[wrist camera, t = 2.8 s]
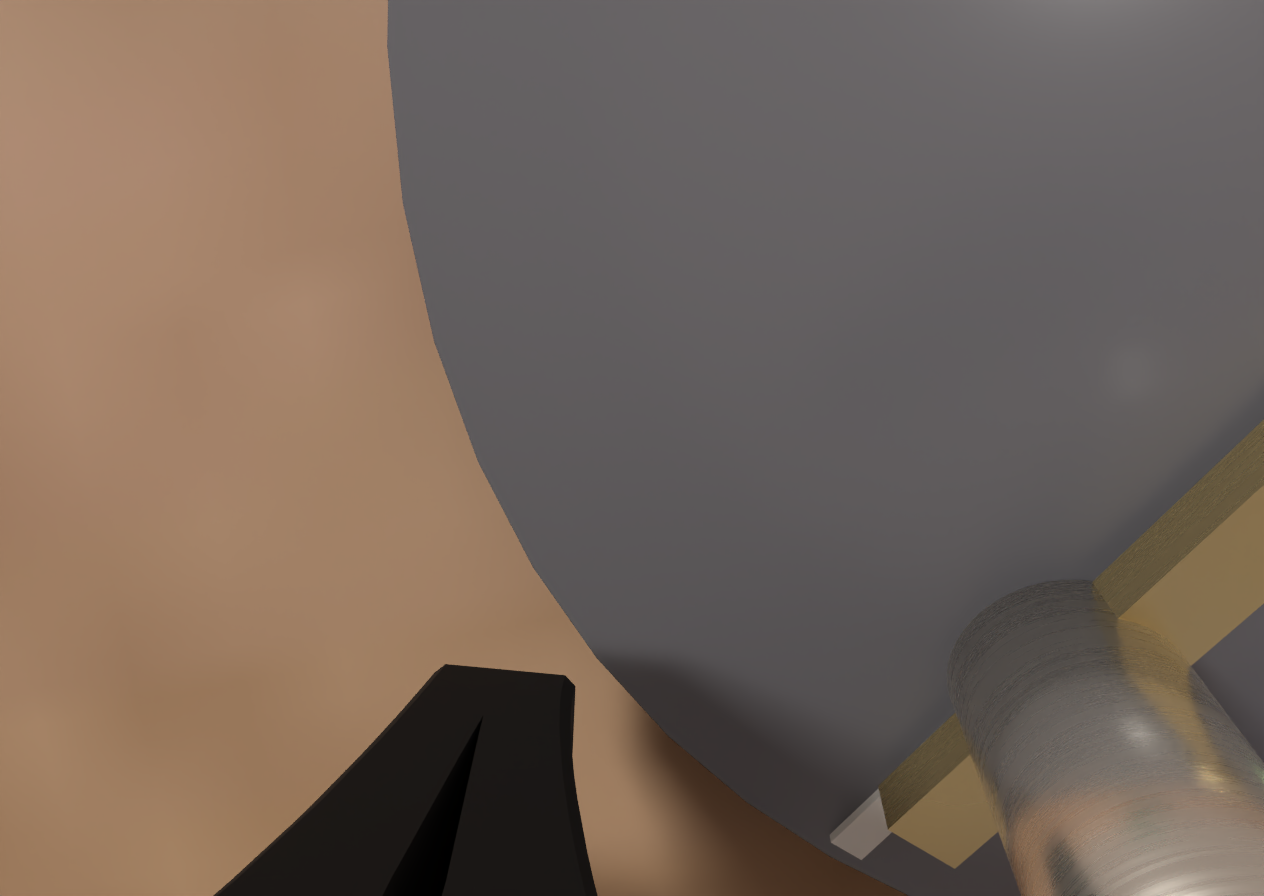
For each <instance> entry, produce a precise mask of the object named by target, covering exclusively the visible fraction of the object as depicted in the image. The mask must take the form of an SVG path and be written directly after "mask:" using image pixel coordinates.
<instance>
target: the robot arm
mask: <svg viewBox="0 0 1264 896" xmlns="http://www.w3.org/2000/svg"><path fill="white" fill-rule="evenodd" d="M574 705H575V685H574V684H573V683H572V682H571V681H570V680H569V679H568V678H567V677H566V676H565V675H555V674H544V673H534V672H523V671H512V670H502V669H491V668H480V667H469V666H459V665H448V664H445V665H444V666H443V667H441V668H440V669H439V670H438V671H436V672H435V673H434V674H433V675H432V676H431V678H430V679H429V680H428V681H427V682H426V683H425V685H424V686H423V687H422V688H421V689H420V690H419V692H418V693H417V694H416V695H415V696H414V697H413V698H412V700H411V701H410V702H409V703H408V704H407V705H406V706H405V708H404V709H403V710H402V711H401V712H400V713H399V714H398V715H397V717H396V718H395V719H394V720H393V721H392V722H391V723H390V724H389V725H388V727H387V728H386V729H385V730H384V731H383V732H382V733H381V734H380V735H379V736H378V737H377V738H376V739H375V741H374V742H373V743H372V744H371V745H370V746H369V747H368V748H367V749H366V750H365V751H364V752H363V753H362V755H361V756H360V757H359V758H358V759H357V760H356V761H355V762H354V763H353V764H352V765H351V766H350V767H349V768H348V769H347V770H346V771H345V772H344V773H343V774H342V775H341V776H340V777H339V778H338V779H337V780H336V781H335V782H334V783H333V784H332V785H331V786H330V787H329V788H328V789H327V790H326V791H325V792H324V793H323V794H322V795H321V796H320V797H319V798H318V799H317V800H316V801H315V802H314V804H313V805H312V806H310V807H309V808H308V809H307V810H306V811H305V812H304V813H303V814H302V815H301V816H300V817H299V818H298V819H297V820H296V821H295V822H294V823H293V824H292V825H291V826H290V827H288V828H287V829H286V830H285V831H284V832H283V833H282V834H281V835H280V836H279V837H278V838H277V839H275V840H274V841H273V842H272V843H271V844H270V845H269V846H268V847H267V848H266V849H265V850H264V851H262V852H261V853H260V854H259V855H258V856H257V857H256V858H255V859H254V860H253V861H252V862H250V863H249V864H248V865H247V866H246V867H245V868H244V869H243V870H242V871H241V872H240V873H239V874H237V875H236V876H235V877H234V878H233V879H232V880H231V881H230V882H229V883H227V884H226V885H225V886H224V887H223V888H222V889H221V890H219V891H218V892H217V893H216V894H215V895H214V896H597V892H596V888H595V884H594V880H593V876H592V871H591V867H590V862H589V858H588V854H587V849H586V843H585V838H584V832H583V827H582V822H581V816H580V811H579V805H578V800H577V794H576V786H575V779H574V770H573V759H572V750H573V727H574Z"/></svg>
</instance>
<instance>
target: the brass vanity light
mask: <svg viewBox="0 0 1264 896" xmlns="http://www.w3.org/2000/svg"><path fill="white" fill-rule="evenodd" d="M1263 604H1264V420H1263V421H1262V422H1261V423H1260V424H1258V425H1257V426H1256V427H1255V428H1254V429H1253V430H1252V431H1251V432H1250V433H1249V434H1248V435H1247V436H1246V437H1245V438H1244V439H1243V440H1242V441H1241V442H1240V443H1238V444H1237V445H1236V446H1235V447H1234V448H1233V449H1232V450H1231V451H1230V452H1229V453H1228V454H1227V455H1226V456H1225V457H1224V458H1223V459H1222V460H1221V461H1219V462H1218V463H1217V464H1216V465H1215V466H1214V467H1213V468H1212V469H1211V470H1210V471H1209V472H1208V473H1207V474H1206V475H1205V476H1204V477H1203V478H1202V479H1201V480H1199V481H1198V482H1197V483H1196V484H1195V485H1194V486H1193V487H1192V488H1191V489H1190V490H1189V491H1188V492H1187V493H1186V494H1185V495H1184V496H1183V497H1182V498H1181V499H1179V500H1178V501H1177V502H1176V503H1175V504H1174V505H1173V506H1172V507H1171V508H1170V509H1169V510H1168V511H1167V512H1166V513H1165V514H1164V515H1163V516H1162V517H1160V518H1159V519H1158V520H1157V521H1156V522H1155V523H1154V524H1153V525H1152V526H1151V527H1150V528H1149V529H1148V530H1147V531H1146V532H1145V533H1144V534H1143V535H1142V536H1140V537H1139V538H1138V539H1137V540H1136V541H1135V542H1134V543H1133V544H1132V545H1131V546H1130V547H1129V548H1128V549H1127V550H1126V551H1125V552H1124V553H1123V554H1122V555H1120V556H1119V557H1118V558H1117V559H1116V560H1115V561H1114V562H1113V563H1112V564H1111V565H1110V566H1109V567H1108V568H1107V569H1106V570H1105V571H1104V572H1103V573H1102V574H1100V575H1099V576H1098V577H1097V578H1096V579H1095V580H1094V581H1093V582H1090V581H1083V580H1060V581H1050V582H1045V583H1039V584H1035V585H1032V586H1028V587H1025V588H1022V589H1019V590H1017V591H1015V592H1012V593H1010V594H1008V595H1006V596H1004V597H1002V598H1000V599H998V600H997V601H995V602H994V603H992V604H991V605H989V606H988V607H986V608H985V609H984V610H983V611H981V612H980V613H979V614H978V615H977V616H976V617H975V618H974V619H973V620H972V621H971V622H970V623H969V624H968V625H967V626H966V628H965V629H964V630H963V632H962V633H961V635H960V636H959V638H958V639H957V641H956V643H955V645H954V647H953V649H952V652H951V655H950V658H949V662H948V668H947V687H948V692H949V696H950V699H951V702H952V705H953V707H954V710H955V713H954V714H953V715H952V716H951V717H950V718H949V719H948V720H947V721H946V722H945V723H943V724H942V725H941V726H940V727H939V728H938V729H937V730H936V731H935V732H934V733H933V734H932V735H931V736H930V737H929V738H928V739H927V740H926V741H925V742H923V743H922V744H921V745H920V746H919V747H918V748H917V749H916V750H915V751H914V752H913V753H912V754H911V755H910V756H909V757H908V758H907V759H906V760H905V761H903V762H902V763H901V764H900V765H899V766H898V767H897V768H896V769H895V770H894V771H893V772H892V773H891V774H890V775H889V776H888V777H887V778H886V779H884V780H883V781H882V782H881V783H880V784H879V785H878V788H879V793H880V797H881V801H882V806H883V810H884V815H885V819H886V824H887V828H888V830H889V831H891V832H893V833H894V834H896V835H898V836H899V837H901V838H903V839H905V840H906V841H908V842H910V843H911V844H913V845H915V846H917V847H918V848H920V849H922V850H923V851H925V852H927V853H929V854H930V855H932V856H934V857H935V858H937V859H939V860H941V861H942V862H944V863H946V864H947V865H949V866H951V867H952V868H954V869H955V868H956V867H958V866H959V865H960V864H961V863H962V862H963V861H965V860H966V859H967V858H968V857H969V856H970V855H972V854H973V853H974V852H975V851H976V850H977V849H979V848H980V847H981V846H982V845H983V844H984V843H986V842H987V841H988V840H989V839H990V838H991V837H993V836H994V835H995V834H996V833H997V832H999V835H1000V838H1001V841H1002V844H1003V846H1004V849H1005V852H1006V855H1007V857H1008V860H1009V863H1010V866H1011V869H1012V871H1013V874H1014V877H1015V880H1016V882H1017V885H1018V888H1019V891H1020V894H1021V896H1264V762H1263V761H1262V760H1261V758H1260V757H1259V756H1258V754H1257V753H1256V752H1255V750H1254V749H1253V748H1252V746H1251V745H1250V744H1249V742H1248V741H1247V740H1246V738H1245V737H1244V736H1243V734H1242V733H1241V732H1240V730H1239V729H1238V728H1237V726H1236V725H1235V724H1234V722H1233V721H1232V720H1231V718H1230V717H1229V716H1228V714H1227V713H1226V712H1225V710H1224V709H1223V708H1222V706H1221V705H1220V704H1219V702H1218V701H1217V700H1216V698H1215V697H1214V696H1213V694H1212V693H1211V692H1210V690H1209V689H1208V688H1207V686H1206V685H1205V684H1204V682H1203V681H1202V680H1201V678H1200V677H1199V676H1198V674H1197V673H1196V672H1195V670H1194V669H1193V668H1192V665H1193V664H1194V663H1195V662H1196V661H1197V660H1199V659H1200V658H1201V657H1202V656H1203V655H1204V654H1206V653H1207V652H1208V651H1209V650H1210V649H1211V648H1212V647H1214V646H1215V645H1216V644H1217V643H1218V642H1219V641H1221V640H1222V639H1223V638H1224V637H1225V636H1226V635H1228V634H1229V633H1230V632H1231V631H1232V630H1233V629H1235V628H1236V627H1237V626H1238V625H1239V624H1240V623H1242V622H1243V621H1244V620H1245V619H1246V618H1247V617H1249V616H1250V615H1251V614H1252V613H1253V612H1254V611H1256V610H1257V609H1258V608H1259V607H1260V606H1261V605H1263Z"/></svg>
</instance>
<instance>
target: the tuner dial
mask: <svg viewBox="0 0 1264 896" xmlns="http://www.w3.org/2000/svg"><path fill="white" fill-rule="evenodd" d="M387 47H388V58H389V68H390V78H391V88H392V98H393V108H394V118H395V128H396V138H397V148H398V158H399V168H400V178H401V188H402V198H403V206H404V210H405V214H406V219H407V223H408V228H409V232H410V236H411V241H412V245H413V250H414V254H415V259H416V263H417V267H418V272H419V276H420V281H421V285H422V290H423V294H424V298H425V303H426V307H427V312H428V316H429V320H430V325H431V329H432V334H433V338H434V342H435V345H436V348H437V350H438V353H439V356H440V358H441V361H442V364H443V367H444V369H445V372H446V375H447V378H448V380H449V383H450V386H451V389H452V391H453V394H454V397H455V400H456V402H457V405H458V408H459V411H460V413H461V416H462V419H463V422H464V424H465V427H466V430H467V432H468V435H469V438H470V441H471V443H472V446H473V449H474V452H475V454H476V457H477V460H478V462H479V464H480V466H481V468H482V470H483V472H484V474H485V476H486V478H487V480H488V482H489V484H490V485H491V487H492V489H493V491H494V493H495V495H496V497H497V499H498V501H499V503H500V505H501V507H502V508H503V510H504V512H505V514H506V516H507V518H508V520H509V522H510V524H511V526H512V528H513V530H514V532H515V533H516V535H517V537H518V539H519V541H520V543H521V545H522V547H523V549H524V551H525V553H526V555H527V556H528V558H529V560H530V562H531V564H532V566H533V568H534V569H535V571H536V572H537V573H538V575H539V576H540V578H541V579H542V581H543V582H544V583H545V585H546V586H547V588H548V589H549V591H550V592H551V593H552V595H553V596H554V598H555V599H556V601H557V602H558V603H559V605H560V606H561V608H562V609H563V611H564V612H565V613H566V615H567V616H568V618H569V619H570V621H571V622H572V623H573V625H574V626H575V628H576V629H577V631H578V632H579V633H580V635H581V636H582V638H583V639H584V641H585V642H586V643H587V645H588V646H589V648H590V649H591V650H592V652H593V653H594V655H595V656H596V658H597V659H598V660H599V661H600V662H601V663H602V664H603V665H604V666H605V668H606V669H607V670H608V671H609V672H610V673H611V674H612V675H613V676H614V677H615V678H616V680H617V681H618V682H619V683H620V684H621V685H622V686H623V687H624V688H625V689H626V690H627V692H628V693H629V694H630V695H631V696H632V697H633V698H634V699H635V700H636V701H637V702H638V704H639V705H640V706H641V707H642V708H643V709H644V710H645V711H646V712H647V713H648V714H649V716H650V717H651V718H652V719H653V720H654V721H655V722H656V723H657V724H658V725H659V726H660V728H661V729H662V730H663V731H664V732H665V733H666V734H667V735H668V736H669V737H670V738H671V739H672V740H674V741H675V742H676V743H677V744H678V745H680V746H681V747H682V748H683V749H684V750H685V751H687V752H688V753H689V754H690V755H691V756H693V757H694V758H695V759H696V760H697V761H698V762H700V763H701V764H702V765H703V766H704V767H706V768H707V769H708V770H709V771H710V772H712V773H713V774H714V775H715V776H716V777H717V778H719V779H720V780H721V781H722V782H723V783H725V784H726V785H727V786H728V787H729V788H730V789H732V790H733V791H734V792H735V793H736V794H738V795H739V796H740V797H741V798H742V799H743V800H745V801H746V802H747V803H749V804H750V805H752V806H753V807H755V808H756V809H758V810H760V811H761V812H763V813H764V814H766V815H767V816H769V817H770V818H772V819H773V820H775V821H776V822H778V823H779V824H781V825H782V826H784V827H786V828H787V829H789V830H790V831H792V832H793V833H795V834H796V835H798V836H799V837H801V838H802V839H804V840H805V841H807V842H809V843H810V844H812V845H813V846H815V847H816V848H818V849H819V850H821V851H822V852H824V853H825V854H827V855H828V856H830V857H832V858H834V859H836V860H838V861H840V862H842V863H844V864H846V865H848V866H850V867H852V868H854V869H856V870H858V871H860V872H862V873H864V874H866V875H868V876H870V877H872V878H874V879H876V880H878V881H880V882H882V883H884V884H886V885H888V886H890V887H892V888H894V889H896V890H898V891H900V892H902V893H904V894H906V895H908V896H1021V894H1020V891H1019V888H1018V885H1017V882H1016V880H1015V877H1014V874H1013V871H1012V869H1011V866H1010V863H1009V860H1008V857H1007V855H1006V852H1005V849H1004V846H1003V844H1002V841H1001V838H1000V835H999V832H997V833H996V834H995V835H994V836H993V837H991V838H990V839H989V840H988V841H987V842H986V843H984V844H983V845H982V846H981V847H980V848H979V849H977V850H976V851H975V852H974V853H973V854H972V855H970V856H969V857H968V858H967V859H966V860H965V861H963V862H962V863H961V864H960V865H959V866H958V867H956V868H955V869H954V868H952V867H951V866H949V865H947V864H946V863H944V862H942V861H941V860H939V859H937V858H935V857H934V856H932V855H930V854H929V853H927V852H925V851H923V850H922V849H920V848H918V847H917V846H915V845H913V844H911V843H910V842H908V841H906V840H905V839H903V838H901V837H899V836H898V835H896V834H894V833H893V832H891V831H889V830H888V828H887V824H886V819H885V815H884V810H883V806H882V801H881V797H880V793H879V788H878V785H879V784H880V783H881V782H882V781H883V780H884V779H886V778H887V777H888V776H889V775H890V774H891V773H892V772H893V771H894V770H895V769H896V768H897V767H898V766H899V765H900V764H901V763H902V762H903V761H905V760H906V759H907V758H908V757H909V756H910V755H911V754H912V753H913V752H914V751H915V750H916V749H917V748H918V747H919V746H920V745H921V744H922V743H923V742H925V741H926V740H927V739H928V738H929V737H930V736H931V735H932V734H933V733H934V732H935V731H936V730H937V729H938V728H939V727H940V726H941V725H942V724H943V723H945V722H946V721H947V720H948V719H949V718H950V717H951V716H952V715H953V714H954V713H955V710H954V707H953V705H952V702H951V699H950V696H949V692H948V687H947V668H948V662H949V658H950V655H951V652H952V649H953V647H954V645H955V643H956V641H957V639H958V638H959V636H960V635H961V633H962V632H963V630H964V629H965V628H966V626H967V625H968V624H969V623H970V622H971V621H972V620H973V619H974V618H975V617H976V616H977V615H978V614H979V613H980V612H981V611H983V610H984V609H985V608H986V607H988V606H989V605H991V604H992V603H994V602H995V601H997V600H998V599H1000V598H1002V597H1004V596H1006V595H1008V594H1010V593H1012V592H1015V591H1017V590H1019V589H1022V588H1025V587H1028V586H1032V585H1035V584H1039V583H1045V582H1050V581H1060V580H1083V581H1090V582H1093V581H1094V580H1095V579H1096V578H1097V577H1098V576H1099V575H1100V574H1102V573H1103V572H1104V571H1105V570H1106V569H1107V568H1108V567H1109V566H1110V565H1111V564H1112V563H1113V562H1114V561H1115V560H1116V559H1117V558H1118V557H1119V556H1120V555H1122V554H1123V553H1124V552H1125V551H1126V550H1127V549H1128V548H1129V547H1130V546H1131V545H1132V544H1133V543H1134V542H1135V541H1136V540H1137V539H1138V538H1139V537H1140V536H1142V535H1143V534H1144V533H1145V532H1146V531H1147V530H1148V529H1149V528H1150V527H1151V526H1152V525H1153V524H1154V523H1155V522H1156V521H1157V520H1158V519H1159V518H1160V517H1162V516H1163V515H1164V514H1165V513H1166V512H1167V511H1168V510H1169V509H1170V508H1171V507H1172V506H1173V505H1174V504H1175V503H1176V502H1177V501H1178V500H1179V499H1181V498H1182V497H1183V496H1184V495H1185V494H1186V493H1187V492H1188V491H1189V490H1190V489H1191V488H1192V487H1193V486H1194V485H1195V484H1196V483H1197V482H1198V481H1199V480H1201V479H1202V478H1203V477H1204V476H1205V475H1206V474H1207V473H1208V472H1209V471H1210V470H1211V469H1212V468H1213V467H1214V466H1215V465H1216V464H1217V463H1218V462H1219V461H1221V460H1222V459H1223V458H1224V457H1225V456H1226V455H1227V454H1228V453H1229V452H1230V451H1231V450H1232V449H1233V448H1234V447H1235V446H1236V445H1237V444H1238V443H1240V442H1241V441H1242V440H1243V439H1244V438H1245V437H1246V436H1247V435H1248V434H1249V433H1250V432H1251V431H1252V430H1253V429H1254V428H1255V427H1256V426H1257V425H1258V424H1260V423H1261V422H1262V421H1263V420H1264V0H388V40H387ZM1192 668H1193V669H1194V670H1195V672H1196V673H1197V674H1198V676H1199V677H1200V678H1201V680H1202V681H1203V682H1204V684H1205V685H1206V686H1207V688H1208V689H1209V690H1210V692H1211V693H1212V694H1213V696H1214V697H1215V698H1216V700H1217V701H1218V702H1219V704H1220V705H1221V706H1222V708H1223V709H1224V710H1225V712H1226V713H1227V714H1228V716H1229V717H1230V718H1231V720H1232V721H1233V722H1234V724H1235V725H1236V726H1237V728H1238V729H1239V730H1240V732H1241V733H1242V734H1243V736H1244V737H1245V738H1246V740H1247V741H1248V742H1249V744H1250V745H1251V746H1252V748H1253V749H1254V750H1255V752H1256V753H1257V754H1258V756H1259V757H1260V758H1261V760H1262V761H1263V762H1264V604H1263V605H1261V606H1260V607H1259V608H1258V609H1257V610H1256V611H1254V612H1253V613H1252V614H1251V615H1250V616H1249V617H1247V618H1246V619H1245V620H1244V621H1243V622H1242V623H1240V624H1239V625H1238V626H1237V627H1236V628H1235V629H1233V630H1232V631H1231V632H1230V633H1229V634H1228V635H1226V636H1225V637H1224V638H1223V639H1222V640H1221V641H1219V642H1218V643H1217V644H1216V645H1215V646H1214V647H1212V648H1211V649H1210V650H1209V651H1208V652H1207V653H1206V654H1204V655H1203V656H1202V657H1201V658H1200V659H1199V660H1197V661H1196V662H1195V663H1194V664H1193V665H1192Z"/></svg>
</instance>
